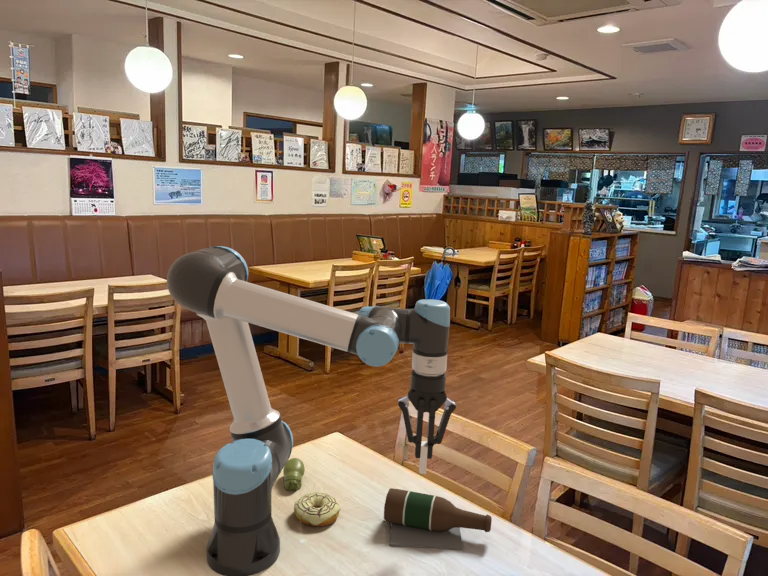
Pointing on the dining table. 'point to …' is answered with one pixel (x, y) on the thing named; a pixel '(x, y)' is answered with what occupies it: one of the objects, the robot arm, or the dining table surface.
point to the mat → (425, 538)
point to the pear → (293, 474)
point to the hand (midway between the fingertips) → (422, 470)
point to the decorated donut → (317, 509)
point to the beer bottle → (430, 512)
